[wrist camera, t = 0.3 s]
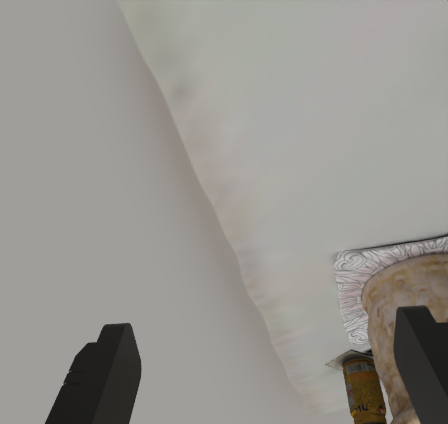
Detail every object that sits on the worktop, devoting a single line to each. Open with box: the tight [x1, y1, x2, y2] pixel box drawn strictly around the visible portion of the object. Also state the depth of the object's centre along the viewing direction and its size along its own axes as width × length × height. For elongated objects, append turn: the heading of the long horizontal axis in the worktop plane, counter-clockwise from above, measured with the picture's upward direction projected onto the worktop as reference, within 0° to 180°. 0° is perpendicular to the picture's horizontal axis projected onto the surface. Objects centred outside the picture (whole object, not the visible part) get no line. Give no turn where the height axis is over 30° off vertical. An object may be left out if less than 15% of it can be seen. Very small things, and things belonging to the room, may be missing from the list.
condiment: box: [325, 351, 387, 424], centre depth 76 cm, size 7×8×12 cm
